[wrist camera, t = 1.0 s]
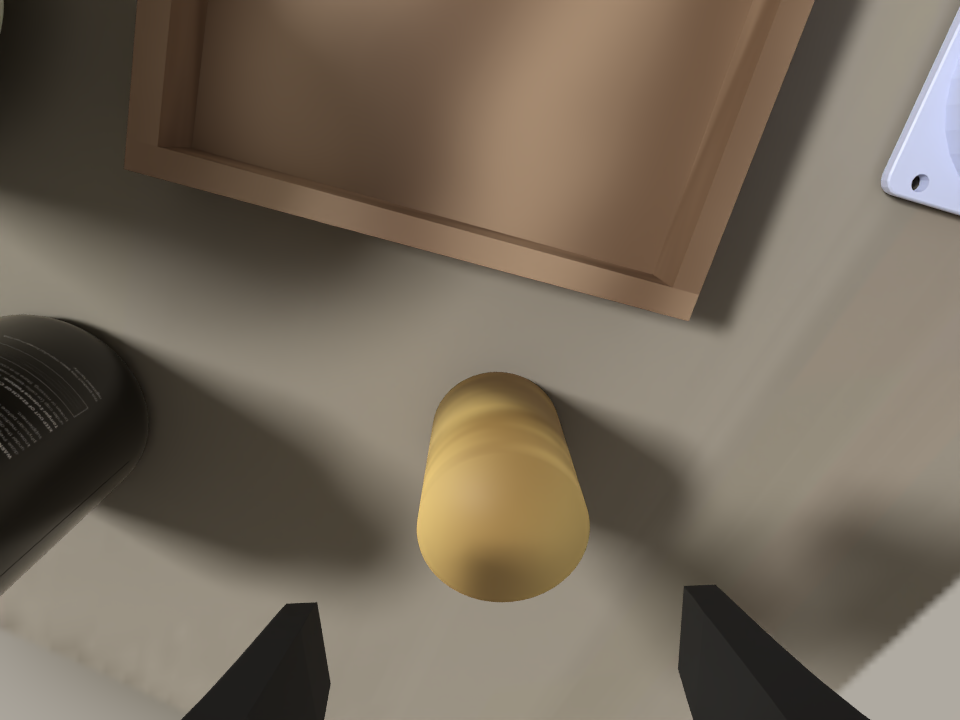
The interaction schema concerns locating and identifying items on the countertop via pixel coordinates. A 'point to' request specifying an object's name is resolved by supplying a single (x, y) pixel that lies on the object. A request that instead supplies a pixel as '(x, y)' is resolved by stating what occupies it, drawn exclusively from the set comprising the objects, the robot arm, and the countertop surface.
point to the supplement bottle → (59, 433)
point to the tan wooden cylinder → (500, 492)
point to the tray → (475, 124)
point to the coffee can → (1, 12)
